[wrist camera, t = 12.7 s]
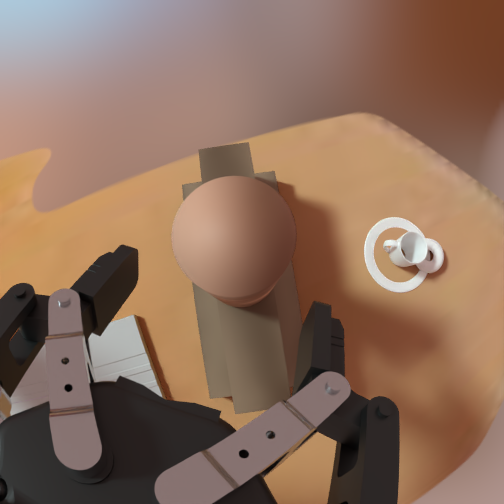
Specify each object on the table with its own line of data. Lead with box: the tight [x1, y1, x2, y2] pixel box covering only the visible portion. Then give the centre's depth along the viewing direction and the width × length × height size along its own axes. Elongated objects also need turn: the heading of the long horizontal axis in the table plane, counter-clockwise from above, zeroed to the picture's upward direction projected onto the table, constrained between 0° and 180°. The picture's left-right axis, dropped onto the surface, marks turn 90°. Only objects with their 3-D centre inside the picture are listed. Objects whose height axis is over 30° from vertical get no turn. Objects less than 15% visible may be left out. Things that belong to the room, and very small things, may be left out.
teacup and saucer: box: [364, 217, 444, 293], centre depth 30 cm, size 9×8×4 cm
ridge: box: [182, 142, 303, 414], centre depth 27 cm, size 9×20×8 cm, turn 9°
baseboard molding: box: [10, 315, 167, 416], centre depth 27 cm, size 31×3×12 cm
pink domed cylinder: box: [172, 176, 296, 307], centre depth 18 cm, size 5×5×10 cm
